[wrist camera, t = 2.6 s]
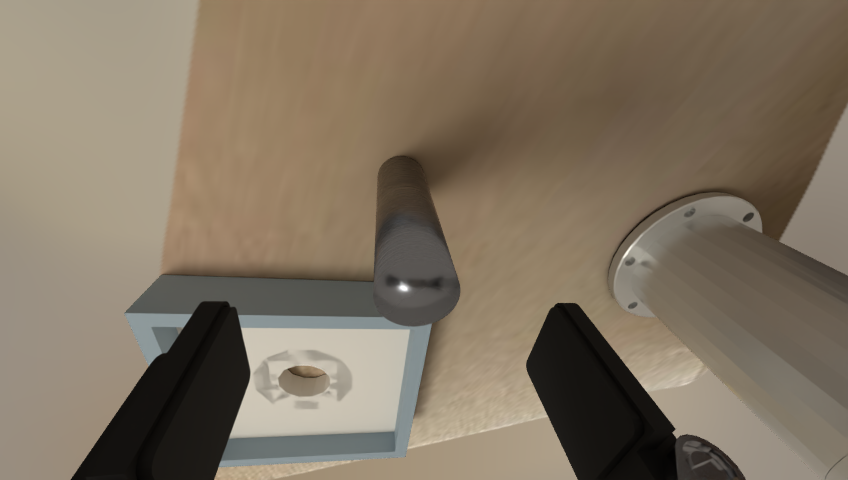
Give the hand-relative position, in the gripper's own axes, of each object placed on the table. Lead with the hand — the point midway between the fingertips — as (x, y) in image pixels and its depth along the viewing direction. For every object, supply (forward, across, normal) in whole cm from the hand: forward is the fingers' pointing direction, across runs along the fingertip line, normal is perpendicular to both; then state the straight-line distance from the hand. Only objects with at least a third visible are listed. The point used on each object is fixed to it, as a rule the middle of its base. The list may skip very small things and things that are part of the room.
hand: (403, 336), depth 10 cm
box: (+14, +6, +19) cm, 25 cm away
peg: (+14, -1, 0) cm, 14 cm away
